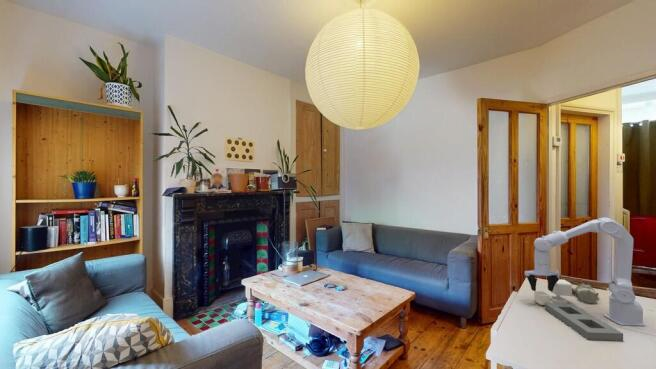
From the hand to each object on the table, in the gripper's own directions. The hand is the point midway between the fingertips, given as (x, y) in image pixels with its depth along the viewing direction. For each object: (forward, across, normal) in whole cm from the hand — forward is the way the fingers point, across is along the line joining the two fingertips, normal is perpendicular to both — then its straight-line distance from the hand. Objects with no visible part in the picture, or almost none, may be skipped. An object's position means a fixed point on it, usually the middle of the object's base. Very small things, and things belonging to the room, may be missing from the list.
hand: (541, 290), depth 131 cm
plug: (+7, 0, 0) cm, 7 cm away
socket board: (+7, -4, +17) cm, 19 cm away
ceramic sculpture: (+7, -25, -8) cm, 27 cm away
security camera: (+7, -11, -4) cm, 14 cm away
